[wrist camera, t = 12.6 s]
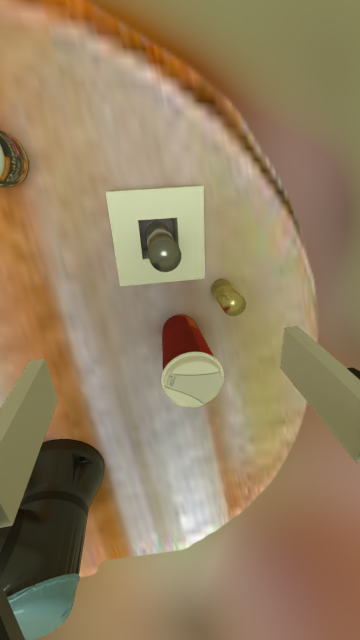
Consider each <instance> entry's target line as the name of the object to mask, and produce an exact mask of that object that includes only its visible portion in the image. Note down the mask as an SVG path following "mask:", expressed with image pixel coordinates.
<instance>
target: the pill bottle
mask: <svg viewBox="0 0 360 640" xmlns="http://www.w3.org/2000/svg"><path fill="white" fill-rule="evenodd" d="M27 171H28V160H27V157H26V154H25V152H24V150H23V148H22V146H21V145H20V144H19V143H18V142H17V141H16V140H15V139H14V138H13V137H11V136H10V135H8V134H6V133H4V132H2V131H0V187H12V186H15V185H18V184H19V183H21V182H22V181H23V180H24V178H25V177H26V175H27Z"/></svg>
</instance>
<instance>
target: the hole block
mask: <svg viewBox="0 0 360 640" xmlns="http://www.w3.org/2000/svg"><path fill="white" fill-rule="evenodd" d="M106 198H107V204H108V211H109V217H110V224H111V230H112V237H113V243H114V250H115V256H116V263H117V269H118V276H119V282H120V286H130V285H141V284H151V283H162V282H173V281H184V280H195V279H205V254H204V187H203V186H196V185H195V186H179V187H163V188H146V189H130V190H114V191H107V192H106ZM164 218H173V224H174V240H175V242H176V243H177V245H178V247H179V248H180V251H181V261H180V264H179V265H178V266H177V268H175V269H174V270H172V271H170V272H160V271H158V270H156V269H155V268H154V267H153V266H152V265H151V263H150V260H149V253H148V250H145V251H142V245H141V236H140V227H139V220H150V219H164Z"/></svg>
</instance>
